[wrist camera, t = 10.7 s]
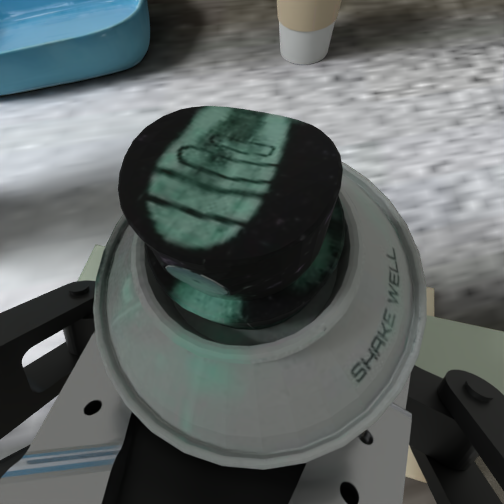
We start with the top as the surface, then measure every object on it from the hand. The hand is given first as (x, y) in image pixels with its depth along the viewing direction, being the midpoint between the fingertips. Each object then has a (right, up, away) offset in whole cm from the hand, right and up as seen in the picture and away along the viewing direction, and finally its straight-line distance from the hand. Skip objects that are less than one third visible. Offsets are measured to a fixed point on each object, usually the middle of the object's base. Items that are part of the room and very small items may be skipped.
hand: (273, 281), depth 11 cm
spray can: (0, -5, +9) cm, 11 cm away
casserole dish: (-32, +34, +31) cm, 56 cm away
